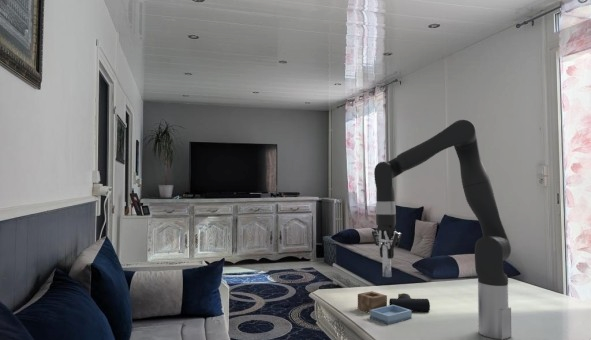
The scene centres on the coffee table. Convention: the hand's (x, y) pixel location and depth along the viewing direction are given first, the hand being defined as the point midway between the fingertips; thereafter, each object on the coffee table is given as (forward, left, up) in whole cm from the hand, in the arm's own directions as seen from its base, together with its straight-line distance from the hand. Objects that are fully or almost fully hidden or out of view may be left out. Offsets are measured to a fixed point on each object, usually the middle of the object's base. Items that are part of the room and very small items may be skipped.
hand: (386, 257), depth 156 cm
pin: (0, 0, -7) cm, 7 cm away
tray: (-3, +1, -22) cm, 22 cm away
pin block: (+9, -1, -22) cm, 24 cm away
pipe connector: (+2, -15, -23) cm, 27 cm away
